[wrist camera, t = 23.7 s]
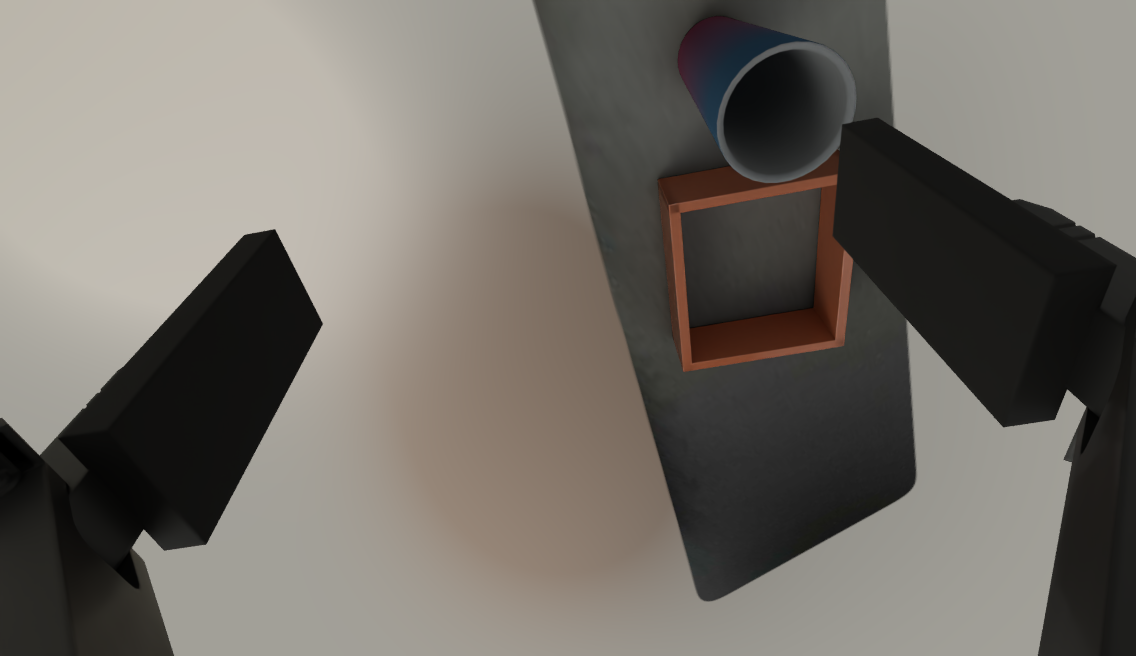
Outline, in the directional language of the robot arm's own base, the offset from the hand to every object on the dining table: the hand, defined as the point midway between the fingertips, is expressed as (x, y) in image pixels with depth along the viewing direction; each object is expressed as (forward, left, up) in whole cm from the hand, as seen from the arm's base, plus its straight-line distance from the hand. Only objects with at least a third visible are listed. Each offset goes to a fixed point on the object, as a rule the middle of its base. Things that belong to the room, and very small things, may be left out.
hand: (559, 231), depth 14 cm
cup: (+4, +11, -32) cm, 34 cm away
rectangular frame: (+20, +13, -32) cm, 40 cm away
